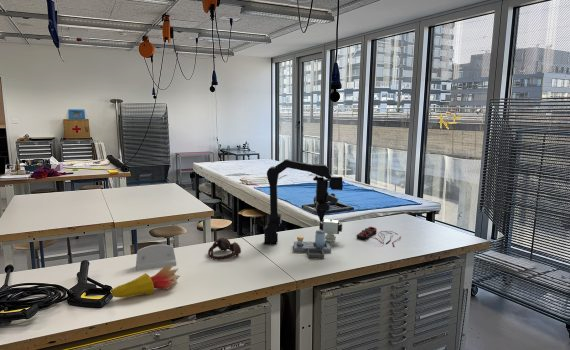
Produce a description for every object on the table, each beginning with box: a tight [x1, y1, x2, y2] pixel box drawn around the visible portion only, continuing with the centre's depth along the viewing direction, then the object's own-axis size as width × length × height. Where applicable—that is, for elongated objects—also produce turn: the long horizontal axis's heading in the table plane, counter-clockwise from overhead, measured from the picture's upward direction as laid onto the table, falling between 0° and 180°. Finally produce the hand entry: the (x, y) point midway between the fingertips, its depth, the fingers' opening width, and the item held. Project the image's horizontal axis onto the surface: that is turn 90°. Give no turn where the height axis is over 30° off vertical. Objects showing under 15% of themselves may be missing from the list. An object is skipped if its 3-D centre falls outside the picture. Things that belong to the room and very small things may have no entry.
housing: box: [293, 241, 332, 254], centre depth 190 cm, size 18×10×2 cm, turn 90°
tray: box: [306, 249, 325, 260], centre depth 181 cm, size 7×7×2 cm
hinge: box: [135, 244, 177, 272], centre depth 166 cm, size 17×5×10 cm, turn 113°
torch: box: [111, 263, 181, 298], centre depth 140 cm, size 8×8×25 cm
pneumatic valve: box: [318, 218, 343, 243], centre depth 203 cm, size 6×12×12 cm, turn 76°
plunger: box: [296, 236, 304, 246], centre depth 190 cm, size 3×3×4 cm
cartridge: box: [314, 229, 326, 247], centre depth 190 cm, size 5×5×9 cm
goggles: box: [207, 237, 242, 261], centre depth 179 cm, size 15×13×10 cm
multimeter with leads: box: [356, 226, 401, 248], centre depth 210 cm, size 23×4×25 cm
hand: (320, 219), depth 195 cm, fingers open, 9 cm apart
